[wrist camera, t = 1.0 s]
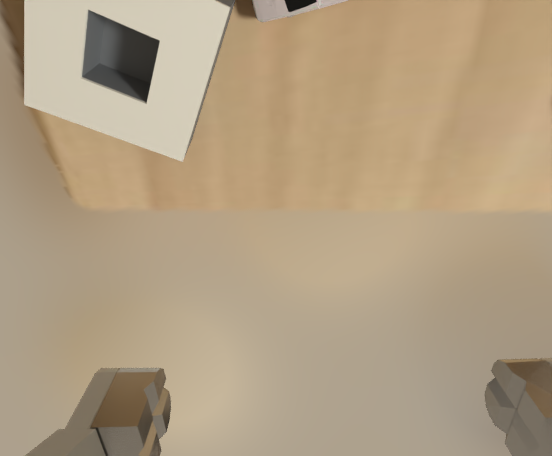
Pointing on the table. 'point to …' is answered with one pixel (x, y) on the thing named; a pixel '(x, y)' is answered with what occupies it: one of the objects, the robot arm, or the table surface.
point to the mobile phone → (287, 7)
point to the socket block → (124, 65)
